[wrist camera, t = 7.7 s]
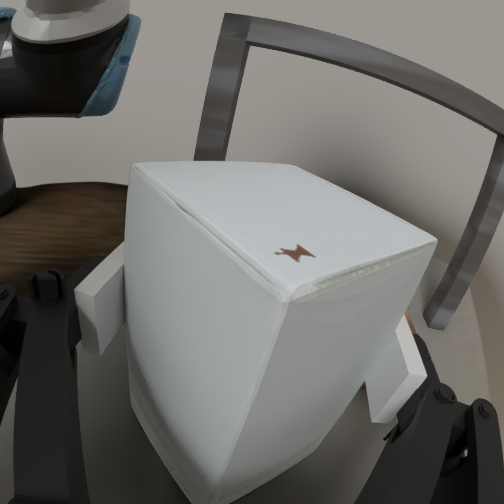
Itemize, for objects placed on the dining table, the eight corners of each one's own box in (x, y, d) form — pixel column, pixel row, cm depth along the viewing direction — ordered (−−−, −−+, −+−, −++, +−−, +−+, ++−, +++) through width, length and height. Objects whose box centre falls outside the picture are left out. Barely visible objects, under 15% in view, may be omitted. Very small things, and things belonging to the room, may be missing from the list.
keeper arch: (474, 397, 19) (600, 148, 10) (136, 333, 20) (184, -32, 10) (423, 292, 33) (490, 118, 24) (199, 235, 34) (240, 31, 24)
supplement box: (318, 451, 15) (449, 241, 9) (199, 520, 10) (282, 296, 4) (239, 364, 19) (295, 161, 14) (127, 402, 15) (124, 154, 9)
